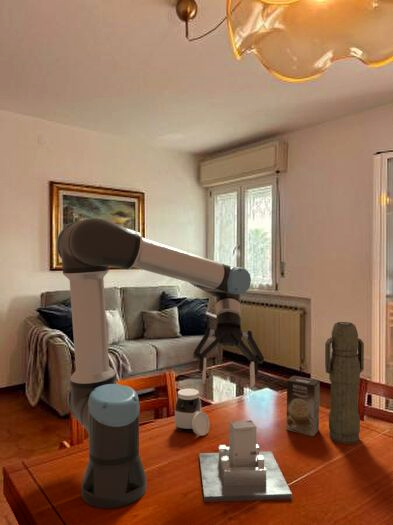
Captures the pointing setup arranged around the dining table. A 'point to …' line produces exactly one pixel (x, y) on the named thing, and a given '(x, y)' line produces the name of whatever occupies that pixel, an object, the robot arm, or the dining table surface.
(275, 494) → the box holder fixture
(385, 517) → the dining table surface
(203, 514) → the dining table surface
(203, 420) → the spread jar
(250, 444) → the skincare box
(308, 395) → the coffee box
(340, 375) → the thermos
